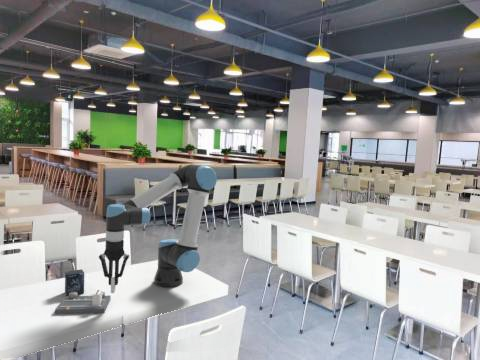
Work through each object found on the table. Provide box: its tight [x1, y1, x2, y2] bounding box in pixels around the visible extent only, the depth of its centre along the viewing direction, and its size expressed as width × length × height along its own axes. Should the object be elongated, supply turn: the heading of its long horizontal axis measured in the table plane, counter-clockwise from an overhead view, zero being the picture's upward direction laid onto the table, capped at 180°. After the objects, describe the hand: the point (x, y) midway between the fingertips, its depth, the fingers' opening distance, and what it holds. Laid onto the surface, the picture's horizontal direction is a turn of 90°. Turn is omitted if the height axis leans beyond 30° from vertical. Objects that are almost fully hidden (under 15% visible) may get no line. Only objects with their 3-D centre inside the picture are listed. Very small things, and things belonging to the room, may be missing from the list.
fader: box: [92, 289, 103, 306], centre depth 165 cm, size 3×5×5 cm, turn 9°
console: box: [54, 291, 112, 315], centre depth 167 cm, size 20×14×4 cm
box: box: [64, 269, 85, 296], centre depth 181 cm, size 8×6×11 cm
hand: (113, 291), depth 166 cm, fingers closed
